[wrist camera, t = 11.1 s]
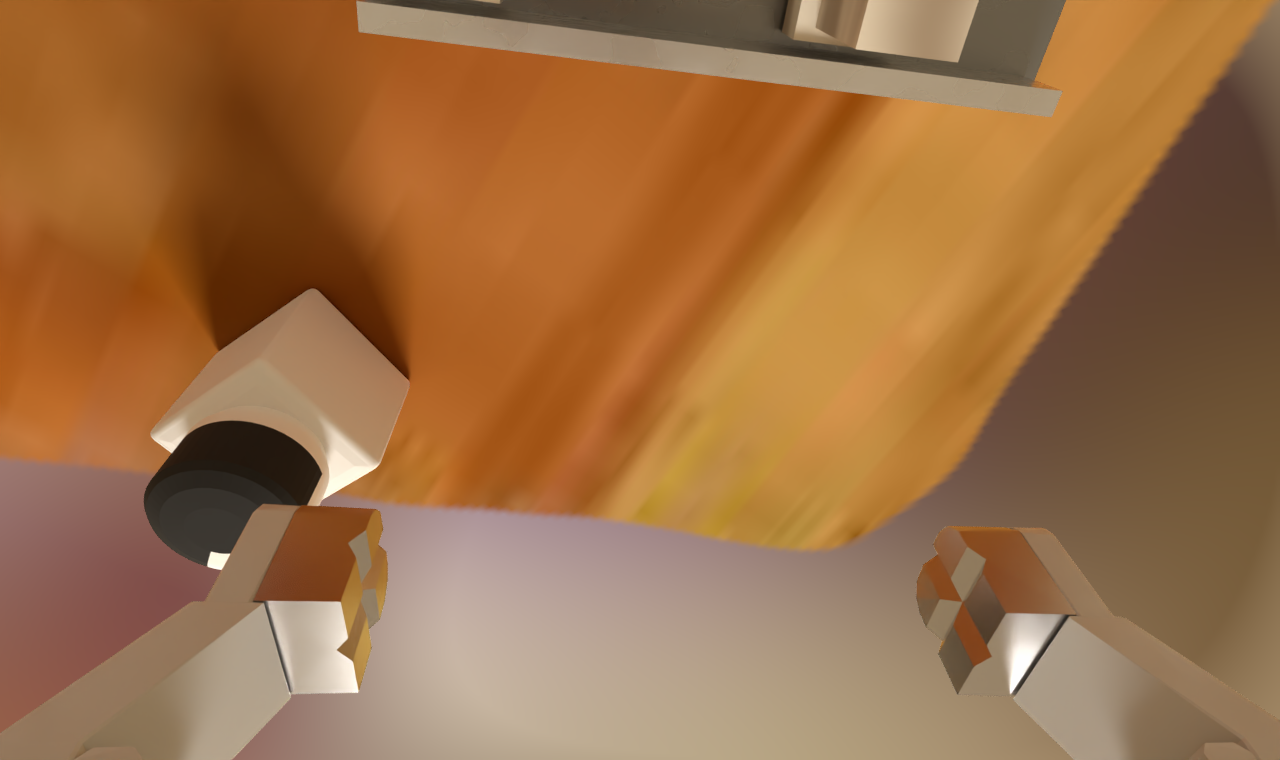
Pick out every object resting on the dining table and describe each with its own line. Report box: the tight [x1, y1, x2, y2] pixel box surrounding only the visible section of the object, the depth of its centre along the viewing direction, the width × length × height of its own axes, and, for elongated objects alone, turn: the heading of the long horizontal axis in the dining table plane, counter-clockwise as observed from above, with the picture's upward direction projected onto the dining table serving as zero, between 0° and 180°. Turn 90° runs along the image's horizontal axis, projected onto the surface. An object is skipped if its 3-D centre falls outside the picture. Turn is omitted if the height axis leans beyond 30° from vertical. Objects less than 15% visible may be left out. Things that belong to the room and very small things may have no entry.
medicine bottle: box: [144, 288, 410, 570], centre depth 33 cm, size 7×7×12 cm
